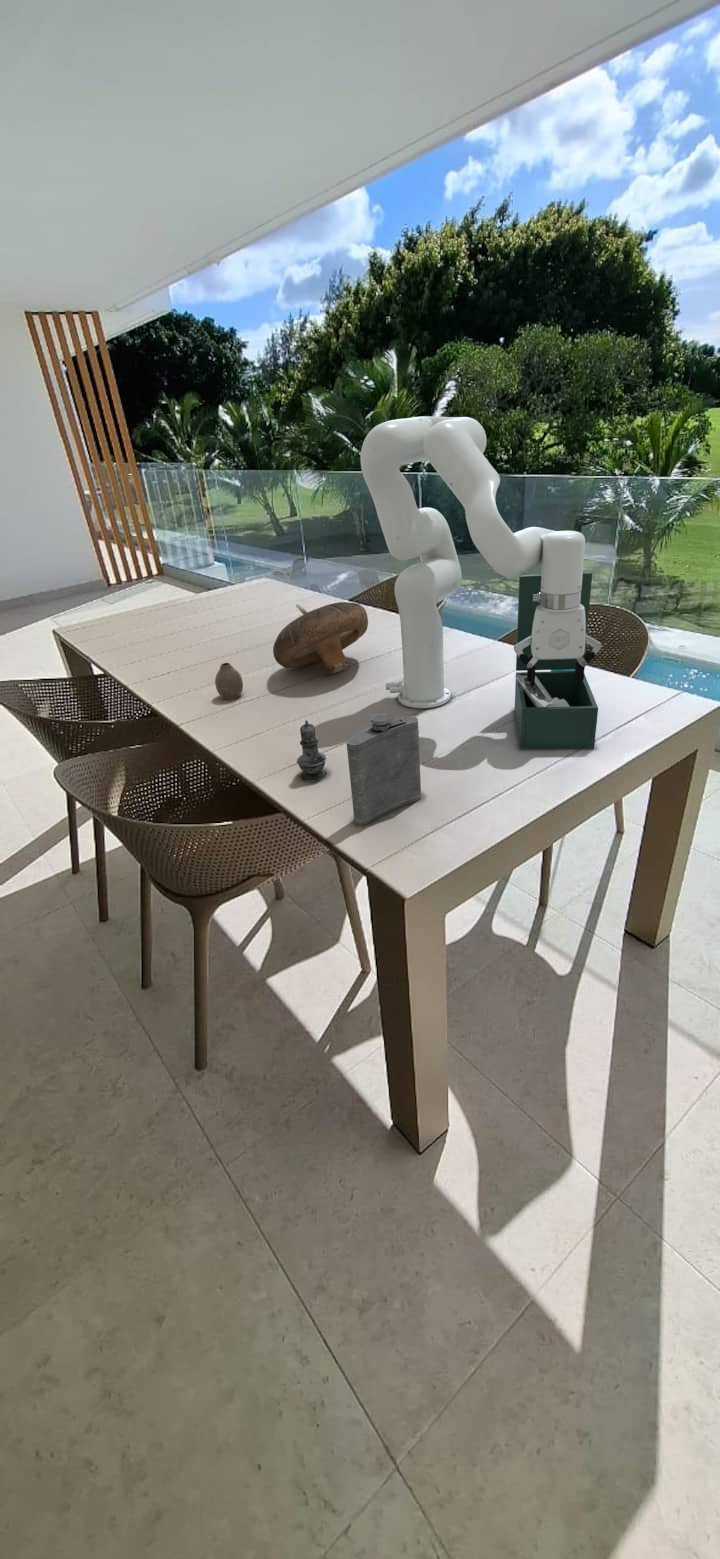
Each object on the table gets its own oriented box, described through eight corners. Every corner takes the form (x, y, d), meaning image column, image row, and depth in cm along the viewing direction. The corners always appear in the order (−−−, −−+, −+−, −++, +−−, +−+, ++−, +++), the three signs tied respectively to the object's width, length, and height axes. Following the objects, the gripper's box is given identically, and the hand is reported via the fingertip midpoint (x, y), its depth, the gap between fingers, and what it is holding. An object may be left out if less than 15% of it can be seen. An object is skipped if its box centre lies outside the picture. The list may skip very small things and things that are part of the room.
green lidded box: (594, 748, 133) (598, 707, 129) (520, 749, 135) (522, 709, 131) (579, 707, 150) (583, 670, 146) (514, 709, 152) (515, 672, 148)
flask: (348, 818, 119) (338, 726, 110) (411, 790, 125) (407, 701, 116) (360, 827, 116) (351, 733, 107) (424, 797, 123) (420, 707, 114)
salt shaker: (298, 769, 136) (291, 715, 130) (327, 766, 136) (321, 712, 130) (298, 783, 131) (290, 728, 125) (328, 780, 131) (322, 725, 125)
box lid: (592, 572, 134) (588, 566, 139) (519, 576, 137) (517, 569, 141) (583, 669, 145) (580, 660, 150) (516, 671, 147) (514, 661, 152)
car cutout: (572, 730, 139) (587, 716, 136) (552, 731, 135) (567, 716, 132) (534, 677, 145) (548, 662, 142) (514, 676, 141) (528, 661, 138)
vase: (250, 692, 174) (244, 660, 170) (235, 703, 169) (228, 670, 165) (228, 690, 177) (222, 658, 173) (212, 700, 172) (206, 668, 167)
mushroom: (324, 648, 202) (353, 574, 188) (365, 694, 190) (399, 618, 176) (243, 648, 185) (267, 566, 170) (282, 699, 173) (312, 615, 158)
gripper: (515, 607, 127) (512, 691, 136) (610, 603, 124) (601, 689, 133) (513, 596, 134) (510, 677, 142) (603, 592, 131) (595, 675, 140)
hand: (554, 683), depth 138 cm, fingers open, 8 cm apart
